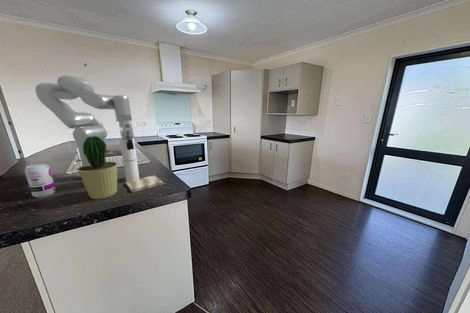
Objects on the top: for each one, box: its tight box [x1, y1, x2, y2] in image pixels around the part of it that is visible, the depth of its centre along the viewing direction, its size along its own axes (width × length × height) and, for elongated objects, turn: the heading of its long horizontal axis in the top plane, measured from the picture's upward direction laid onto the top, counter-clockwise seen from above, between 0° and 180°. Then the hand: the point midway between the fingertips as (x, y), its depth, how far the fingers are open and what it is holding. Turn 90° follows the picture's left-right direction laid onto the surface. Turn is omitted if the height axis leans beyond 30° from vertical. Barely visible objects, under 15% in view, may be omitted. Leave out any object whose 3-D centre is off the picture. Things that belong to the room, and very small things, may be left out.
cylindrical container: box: [119, 137, 140, 182], centre depth 105 cm, size 7×7×25 cm
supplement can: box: [24, 163, 57, 198], centre depth 86 cm, size 8×8×15 cm
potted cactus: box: [77, 136, 118, 200], centre depth 85 cm, size 15×15×30 cm
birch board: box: [125, 174, 164, 193], centre depth 101 cm, size 16×14×2 cm
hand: (128, 148), depth 103 cm, fingers open, 9 cm apart
